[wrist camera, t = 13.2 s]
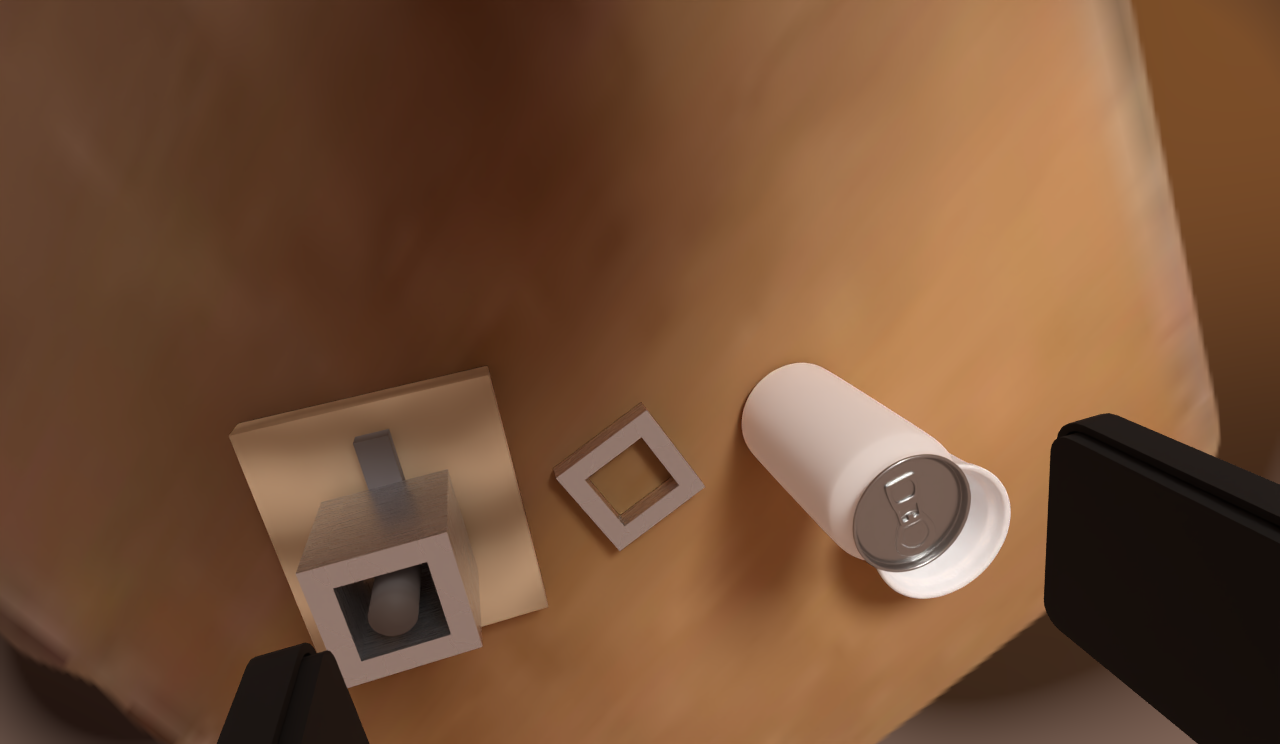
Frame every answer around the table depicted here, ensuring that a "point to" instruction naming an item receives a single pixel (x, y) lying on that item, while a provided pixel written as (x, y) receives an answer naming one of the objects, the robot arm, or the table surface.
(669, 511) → the link
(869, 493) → the can
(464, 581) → the link
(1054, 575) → the robot arm
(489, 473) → the base
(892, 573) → the ramekin
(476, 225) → the table surface
